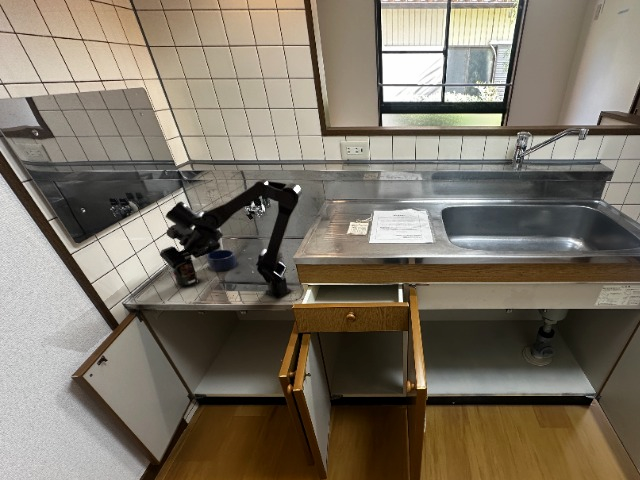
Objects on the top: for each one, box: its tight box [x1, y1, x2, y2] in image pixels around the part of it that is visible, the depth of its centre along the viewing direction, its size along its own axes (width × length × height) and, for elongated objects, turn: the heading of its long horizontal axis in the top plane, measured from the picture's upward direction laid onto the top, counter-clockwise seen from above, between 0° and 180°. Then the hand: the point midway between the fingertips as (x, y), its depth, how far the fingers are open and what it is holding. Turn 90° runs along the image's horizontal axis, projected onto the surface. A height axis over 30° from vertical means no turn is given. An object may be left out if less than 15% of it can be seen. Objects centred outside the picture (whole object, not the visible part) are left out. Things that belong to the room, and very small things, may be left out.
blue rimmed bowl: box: [205, 249, 237, 272], centre depth 130 cm, size 10×10×5 cm
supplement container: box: [170, 255, 199, 288], centre depth 115 cm, size 7×7×10 cm
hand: (183, 261), depth 113 cm, fingers open, 9 cm apart
